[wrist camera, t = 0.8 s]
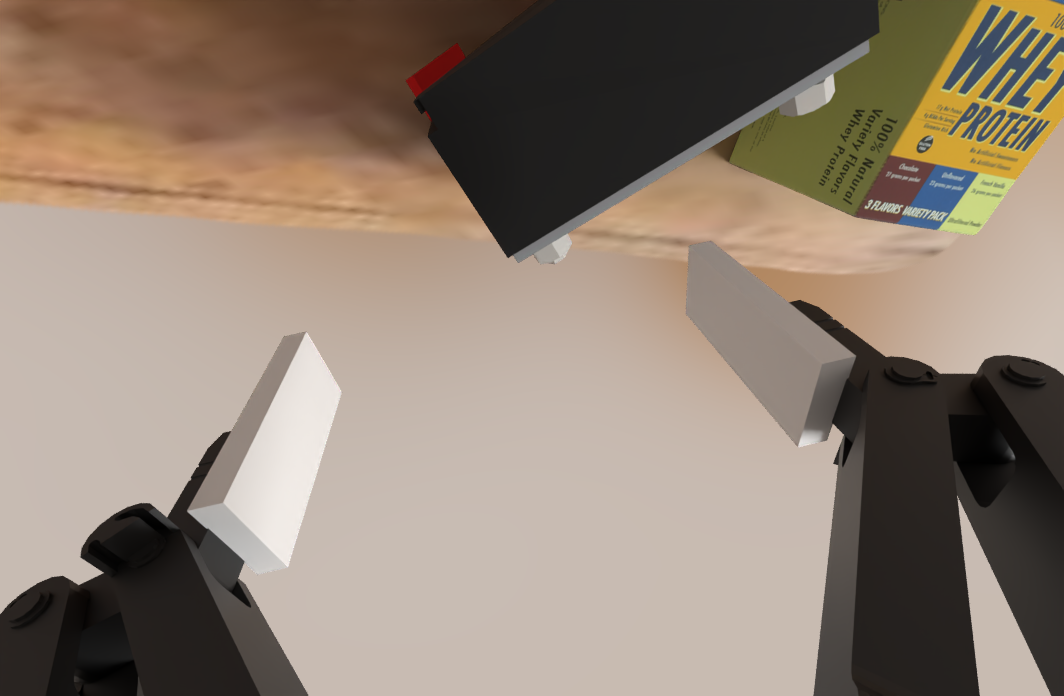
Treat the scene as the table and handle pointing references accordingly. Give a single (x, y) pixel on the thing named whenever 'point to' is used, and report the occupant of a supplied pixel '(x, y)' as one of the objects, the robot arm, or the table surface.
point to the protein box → (925, 115)
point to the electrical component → (620, 99)
